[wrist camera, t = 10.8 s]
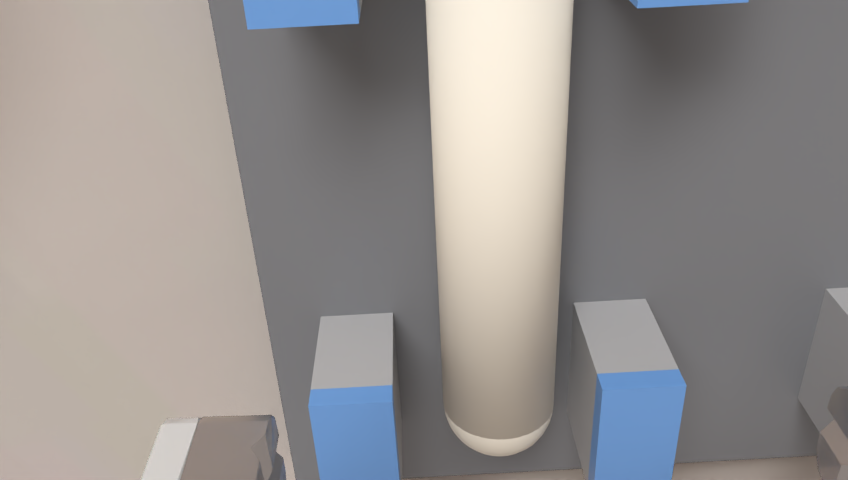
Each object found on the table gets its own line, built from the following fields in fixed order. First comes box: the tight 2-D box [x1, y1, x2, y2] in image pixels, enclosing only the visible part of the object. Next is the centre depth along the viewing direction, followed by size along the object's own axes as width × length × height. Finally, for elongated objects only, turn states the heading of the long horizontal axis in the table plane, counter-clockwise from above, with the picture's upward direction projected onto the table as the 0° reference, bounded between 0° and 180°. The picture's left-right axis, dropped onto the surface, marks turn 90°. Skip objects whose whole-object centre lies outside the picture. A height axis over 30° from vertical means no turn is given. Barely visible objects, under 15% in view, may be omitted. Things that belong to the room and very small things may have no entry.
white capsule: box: [425, 0, 574, 456], centre depth 18 cm, size 16×3×3 cm, turn 3°
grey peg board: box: [208, 0, 848, 480], centre depth 18 cm, size 26×22×6 cm
